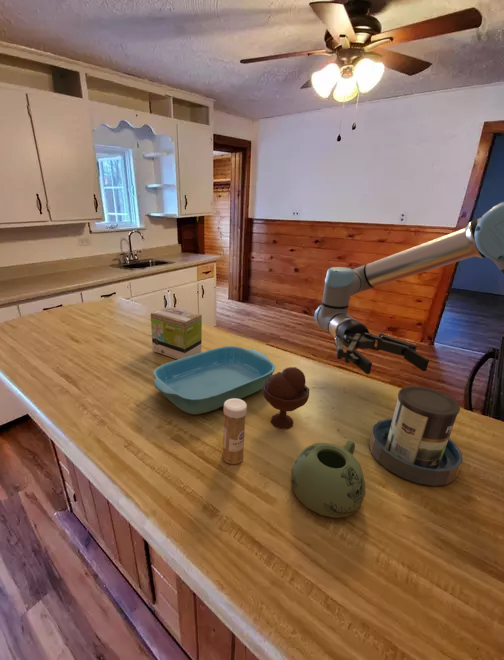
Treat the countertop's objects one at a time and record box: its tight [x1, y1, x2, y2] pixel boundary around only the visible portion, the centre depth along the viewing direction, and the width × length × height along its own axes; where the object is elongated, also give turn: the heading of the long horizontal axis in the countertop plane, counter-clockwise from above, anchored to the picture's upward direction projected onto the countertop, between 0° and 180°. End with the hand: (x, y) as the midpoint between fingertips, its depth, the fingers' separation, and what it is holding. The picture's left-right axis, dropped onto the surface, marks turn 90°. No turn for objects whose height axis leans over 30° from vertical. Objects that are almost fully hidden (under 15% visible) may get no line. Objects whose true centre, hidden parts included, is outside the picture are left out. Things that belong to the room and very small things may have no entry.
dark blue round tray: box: [368, 418, 464, 486], centre depth 71 cm, size 16×16×4 cm
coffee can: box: [385, 385, 461, 469], centre depth 69 cm, size 10×10×14 cm
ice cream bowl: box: [261, 366, 310, 430], centre depth 80 cm, size 11×11×15 cm
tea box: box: [150, 306, 203, 360], centre depth 116 cm, size 15×10×15 cm, turn 55°
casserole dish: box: [152, 345, 276, 416], centre depth 95 cm, size 37×22×7 cm, turn 127°
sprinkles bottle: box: [221, 398, 248, 465], centre depth 69 cm, size 5×5×14 cm
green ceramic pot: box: [291, 439, 366, 519], centre depth 62 cm, size 16×13×9 cm
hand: (398, 367), depth 74 cm, fingers open, 13 cm apart
